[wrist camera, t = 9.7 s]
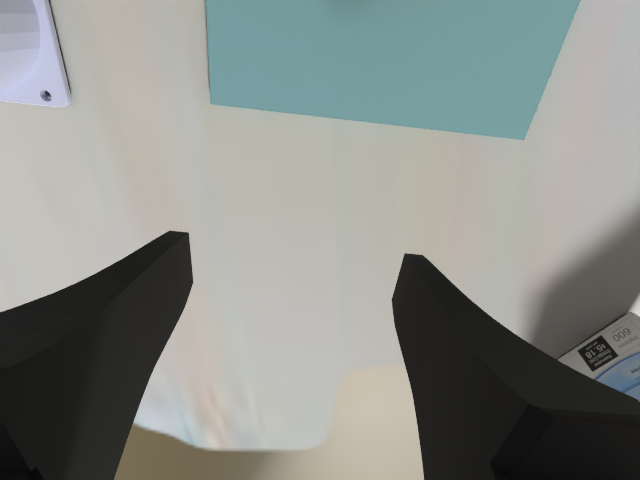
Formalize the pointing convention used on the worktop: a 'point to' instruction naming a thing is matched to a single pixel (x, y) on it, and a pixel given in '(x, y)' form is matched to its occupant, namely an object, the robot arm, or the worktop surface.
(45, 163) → the worktop surface
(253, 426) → the worktop surface
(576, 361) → the light bulb box
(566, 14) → the mat
